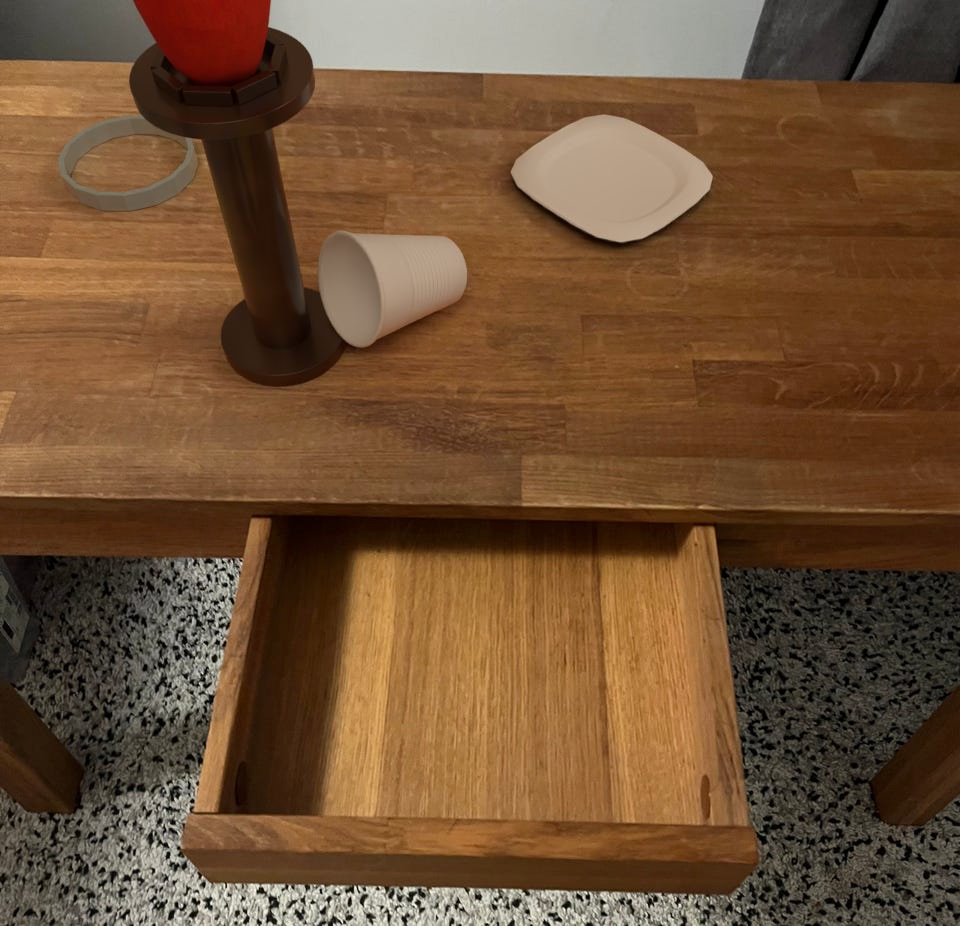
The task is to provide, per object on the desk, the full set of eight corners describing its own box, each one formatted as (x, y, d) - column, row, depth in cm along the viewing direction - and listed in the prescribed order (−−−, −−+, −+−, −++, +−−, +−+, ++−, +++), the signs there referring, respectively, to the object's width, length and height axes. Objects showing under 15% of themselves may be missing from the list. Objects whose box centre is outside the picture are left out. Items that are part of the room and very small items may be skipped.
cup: (454, 343, 83) (357, 370, 77) (403, 263, 85) (305, 282, 79) (499, 276, 75) (396, 300, 69) (442, 190, 78) (337, 205, 71)
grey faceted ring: (108, 229, 87) (101, 213, 86) (41, 167, 93) (34, 151, 91) (222, 171, 93) (218, 155, 91) (153, 116, 98) (147, 100, 97)
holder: (271, 413, 74) (191, 133, 52) (192, 338, 79) (88, 52, 57) (379, 342, 79) (348, 59, 57) (298, 275, 84) (241, -10, 62)
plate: (489, 183, 93) (490, 169, 91) (600, 115, 100) (602, 101, 99) (620, 268, 85) (623, 255, 84) (729, 187, 93) (733, 174, 92)
